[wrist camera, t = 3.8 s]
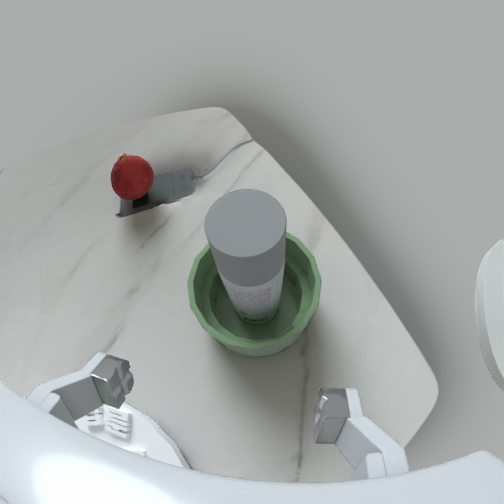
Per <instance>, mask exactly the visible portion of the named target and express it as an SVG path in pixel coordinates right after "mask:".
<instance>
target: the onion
mask: <svg viewBox="0 0 504 504" xmlns="http://www.w3.org/2000/svg"><path fill="white" fill-rule="evenodd" d="M153 177H154V174H153V170H152V168H151V166H150V164H149V163H148V162H147V161H146V160H144V159H143V158H141V157H139V156H132V155H129V156H127V155H126V154H125V153H121V154H120V155H119V157H118V160H117V162H116V163H115V164H114V167H113V169H112V172H111V183H112V187H113V190H114V191H115V193H116V194H117V195H119V196H120V197H121V198H122V199H125V200H135V199H138V198H141V197H142V196H144V195H145V194H146V193H147V192H148V191H149V190H150V188H151V186H152V183H153Z"/></svg>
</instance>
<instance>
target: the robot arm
mask: <svg viewBox="0 0 504 504" xmlns="http://www.w3.org/2000/svg"><path fill="white" fill-rule="evenodd" d="M129 368H130V365H129V361H127V360H124V359H121V358H118V357H115V356H111V355H108V354H105V353H102V352H99V353H97V354H96V355H95V356H94V357H93V358H92V359H91V360H90V361H89V363H88V364H87V365H86V366H85V367H84V368H83V369H82V370H81V371H76V372H73V373H70V374H67V375H64V376H61V377H59V378H56V379H53V380H50V381H47V382H44V383H41V384H39V385H38V386H37V387H36V388H35V389H34V390H33V391H32V392H31V394H30V395H29V396H28V397H27V398H24V397H23V396H21V395H20V394H19V393H17V392H16V391H14V390H13V389H12V388H10V387H9V386H8V385H6V384H5V383H4V382H2V381H1V380H0V504H504V461H503V460H501V459H500V458H498V457H497V456H495V455H493V454H491V453H489V452H487V451H485V450H480V451H476V452H474V453H471V454H468V455H466V456H463V457H460V458H457V459H454V460H451V461H448V462H445V463H441V464H438V465H434V466H431V467H427V468H423V469H419V470H415V471H410V469H409V465H408V461H407V458H406V454H405V450H404V448H403V447H402V446H401V445H400V444H399V443H397V442H396V441H395V440H394V439H393V438H391V437H390V436H389V435H388V434H387V433H386V432H384V431H383V430H382V429H381V428H380V427H379V426H377V425H376V424H375V423H374V422H373V421H372V420H371V419H369V418H368V417H364V414H363V410H362V405H361V401H360V397H359V393H358V389H357V388H345V389H344V388H320V390H319V393H318V401H316V404H315V408H314V417H313V419H314V424H315V425H316V426H315V429H314V443H322V444H335V445H336V447H337V448H338V449H339V451H340V452H341V453H342V454H343V456H344V457H345V458H346V459H347V461H348V462H349V463H350V464H351V466H352V467H353V468H354V469H355V472H354V473H353V474H352V476H351V477H350V478H349V479H348V481H339V482H316V483H297V482H273V481H261V480H251V479H242V478H235V477H228V476H222V475H216V474H211V473H206V472H201V471H196V470H192V469H187V468H183V467H179V466H175V465H172V464H168V463H164V462H161V461H158V460H154V459H151V458H148V457H145V456H142V455H139V454H136V453H133V452H131V451H128V450H125V449H123V448H120V447H117V446H115V445H112V444H110V443H108V442H105V441H103V440H101V439H98V438H96V437H94V436H92V435H90V434H87V433H85V432H83V431H81V430H79V428H78V426H77V425H76V423H75V422H74V421H76V420H78V419H80V418H82V417H83V416H85V415H87V414H89V413H90V412H92V411H94V410H96V409H97V408H99V407H101V406H103V405H104V404H105V405H108V406H111V407H114V408H117V409H120V407H121V405H122V404H123V402H124V401H125V396H124V395H127V394H129V393H130V391H131V390H132V387H133V384H134V379H133V375H132V373H131V372H130V371H129Z"/></svg>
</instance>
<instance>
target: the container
mask: <svg viewBox="0 0 504 504" xmlns="http://www.w3.org/2000/svg"><path fill="white" fill-rule="evenodd" d="M204 227H205V233H206V236H207V239H208V242H209V245H210V248H211V251H212V254H213V257H214V260H215V263H216V266H217V269H218V272H219V274H220V277H221V279H222V281H223V284H224V286H225V288H226V291H227V293H228V295H229V298H230V300H231V302H232V305H233V307H234V309H235V311H236V313H237V315H238V316H239V318H240V319H241V320H243V321H244V322H246V323H248V324H252V325H262V324H265V323H267V322H269V321H271V320H272V319H273V318H274V317H275V316H276V314H277V312H278V310H279V306H280V298H281V290H282V282H283V274H284V265H285V245H286V215H285V212H284V209H283V207H282V206H281V204H280V203H279V202H278V201H277V200H276V199H275V198H274V197H272V196H271V195H269V194H267V193H265V192H262V191H259V190H253V189H242V190H236V191H233V192H230V193H227V194H225V195H224V196H222V197H220V198H219V199H218V200H217V201H215V202H214V203H213V205H212V206H211V207H210V209H209V210H208V212H207V215H206V218H205V224H204Z"/></svg>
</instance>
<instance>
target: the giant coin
mask: <svg viewBox="0 0 504 504" xmlns="http://www.w3.org/2000/svg"><path fill="white" fill-rule="evenodd" d="M74 422H75V423H76V425H77V426H78V428H79V430H81V431H83V432H85V433H87V434H90V435H92V436H94V437H96V438H98V439H101V440H103V441H105V442H108V443H110V444H112V445H115V446H117V447H120V448H123V449H125V450H128V451H131V452H133V453H136V454H139V455H142V456H145V457H148V458H151V459H154V460H158V461H161V462H164V463H168V464H172V465H175V466H179V467H183V468H187V469H191V468H190V467H189V465H188V464H187V462H186V460H185V459H184V457H183V455H182V454H181V452H180V450H179V448H178V447H177V445H176V443H175V442H174V441H173V440H172V439H171V438H170V437H169V436H168V435H167V434H166V433H165V432H164V431H163V430H162V429H161V428H160V427H159V426H158V425H157V424H156V423H155V422H154V421H153V420H152V419H151V418H149V417H147V416H146V415H144V414H142V413H140V412H139V411H137V410H135V409H134V408H133V407H131V406H129V405H127V404H126V403H124V402H123V404H122V405H121V407H120V409H117V408H114V407H111V406H108V405H105V404H104V405H103V406H101V407H99V408H97V409H96V410H94V411H92V412H90V413H89V414H87V415H85V416H83V417H82V418H80V419H78V420H76V421H74Z"/></svg>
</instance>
